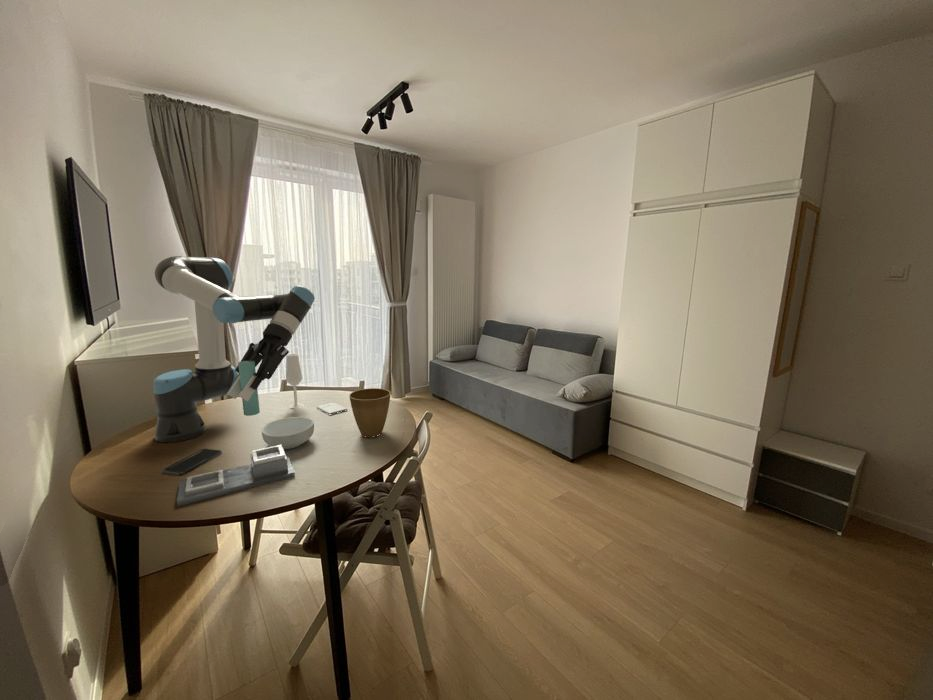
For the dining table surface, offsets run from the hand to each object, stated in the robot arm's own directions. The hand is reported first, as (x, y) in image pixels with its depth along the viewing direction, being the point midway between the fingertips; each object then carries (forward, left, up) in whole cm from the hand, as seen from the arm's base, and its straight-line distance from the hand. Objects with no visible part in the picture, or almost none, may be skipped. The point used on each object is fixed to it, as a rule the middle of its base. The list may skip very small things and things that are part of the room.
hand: (237, 397), depth 104 cm
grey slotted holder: (-3, 0, -26) cm, 26 cm away
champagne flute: (-37, +54, -26) cm, 71 cm away
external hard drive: (-20, +58, -27) cm, 67 cm away
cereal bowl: (-9, +24, -26) cm, 37 cm away
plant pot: (+12, +43, -26) cm, 52 cm away
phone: (-26, +2, -26) cm, 37 cm away
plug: (0, +4, -6) cm, 7 cm away
